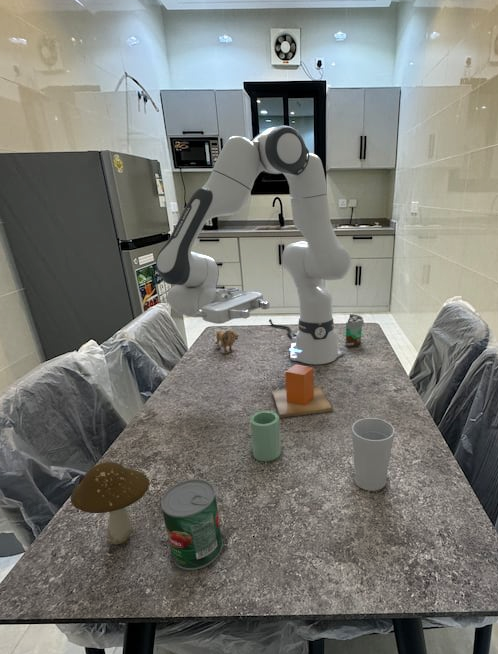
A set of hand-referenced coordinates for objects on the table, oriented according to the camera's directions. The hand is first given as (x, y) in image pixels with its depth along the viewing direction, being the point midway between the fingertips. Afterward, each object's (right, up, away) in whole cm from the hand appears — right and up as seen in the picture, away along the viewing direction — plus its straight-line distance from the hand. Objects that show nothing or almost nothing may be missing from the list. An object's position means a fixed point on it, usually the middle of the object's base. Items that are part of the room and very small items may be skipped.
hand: (258, 310), depth 102 cm
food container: (+31, -6, +48) cm, 57 cm away
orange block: (+11, -24, +4) cm, 27 cm away
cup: (+26, -38, -25) cm, 52 cm away
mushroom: (-17, -44, -37) cm, 60 cm away
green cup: (+4, -34, -16) cm, 38 cm away
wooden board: (+11, -25, +5) cm, 28 cm away
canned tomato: (-4, -45, -40) cm, 60 cm away
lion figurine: (-18, -9, +43) cm, 48 cm away
